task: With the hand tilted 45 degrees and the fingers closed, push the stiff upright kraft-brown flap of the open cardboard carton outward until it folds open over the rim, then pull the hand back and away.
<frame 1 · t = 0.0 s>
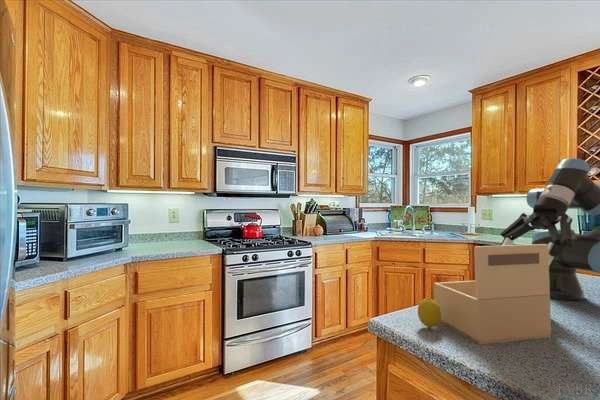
hand: (520, 260, 86), 15 cm above the counter, tool tilted 35°, fingers open, 13 cm apart
carton flap: (513, 270, 69), point 16 cm above the counter, hinge at 0.0°
supplement box: (521, 310, 87), on the counter, touching gripper
carton: (487, 327, 76), on the counter
lemon: (429, 329, 75), on the counter
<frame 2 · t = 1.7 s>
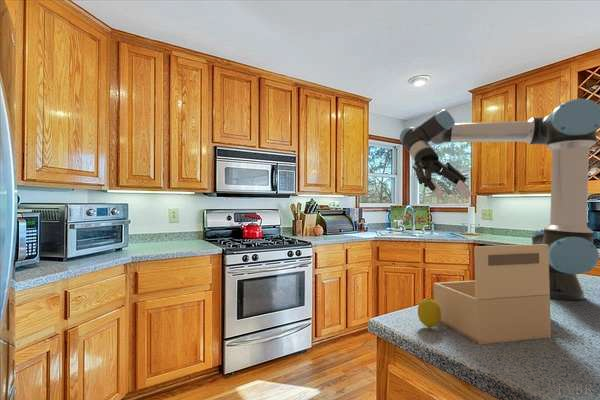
hand: (455, 196, 92), 35 cm above the counter, tool tilted 45°, fingers open, 9 cm apart
supplement box: (521, 311, 87), on the counter
everything else where it was.
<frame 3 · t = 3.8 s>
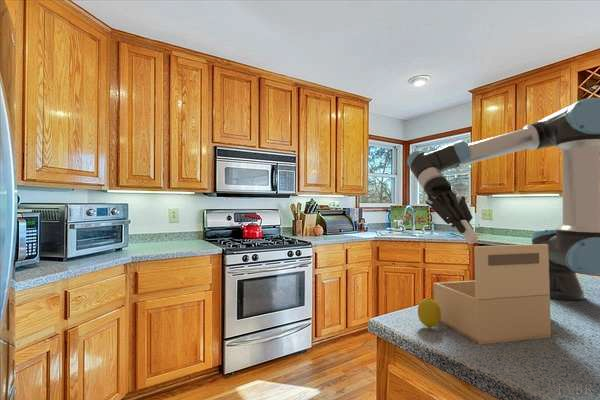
hand: (473, 240, 79), 22 cm above the counter, tool tilted 45°, fingers closed
nothing on the counter moved.
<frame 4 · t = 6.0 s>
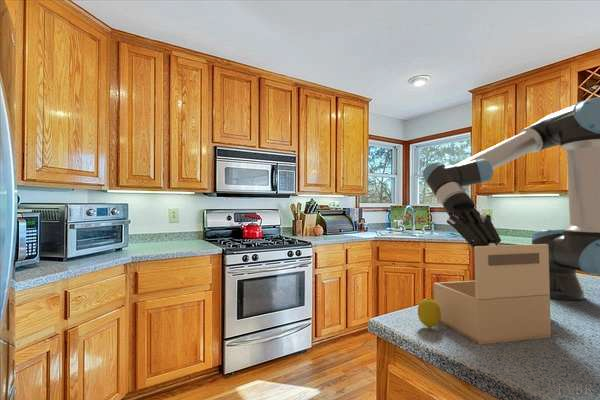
hand: (504, 267, 70), 17 cm above the counter, tool tilted 45°, fingers closed
carton flap: (513, 270, 69), point 16 cm above the counter, hinge at 0.1°, touching gripper
everything else where it was.
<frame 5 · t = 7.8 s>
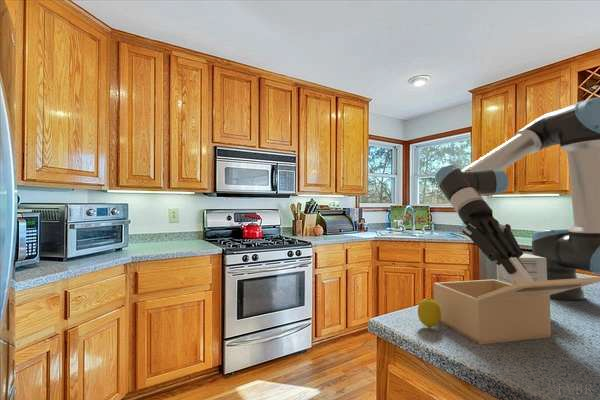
hand: (527, 285, 64), 14 cm above the counter, tool tilted 45°, fingers closed
carton flap: (536, 289, 63), point 13 cm above the counter, hinge at 60.8°, touching gripper
everything else where it was.
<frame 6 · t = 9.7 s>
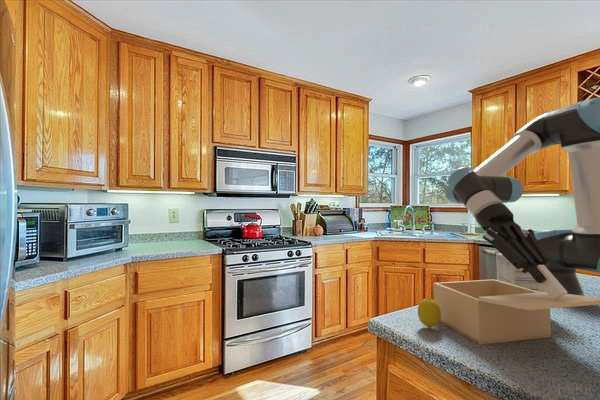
hand: (559, 295, 58), 13 cm above the counter, tool tilted 45°, fingers closed
carton flap: (540, 300, 62), point 11 cm above the counter, hinge at 81.4°, touching gripper
everything else where it was.
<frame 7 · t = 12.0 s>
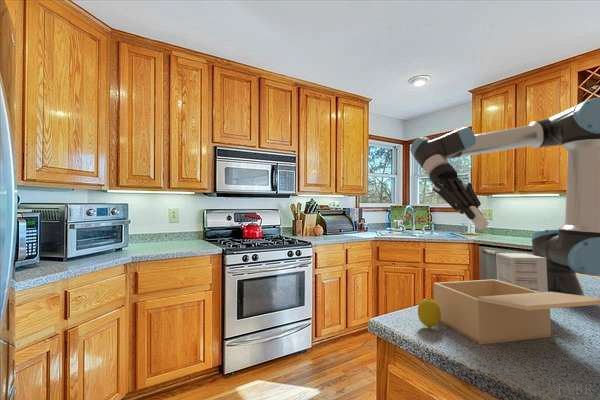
hand: (483, 226, 78), 26 cm above the counter, tool tilted 45°, fingers closed
carton flap: (540, 300, 62), point 11 cm above the counter, hinge at 81.4°
everything else where it was.
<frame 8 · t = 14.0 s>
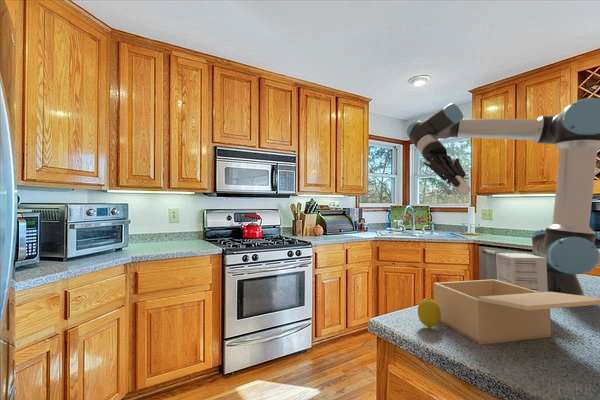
hand: (466, 192, 90), 36 cm above the counter, tool tilted 45°, fingers closed
nothing on the counter moved.
at the end: carton flap at +81° (first picture: +0°); lemon moved 0.2 cm from its start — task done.
